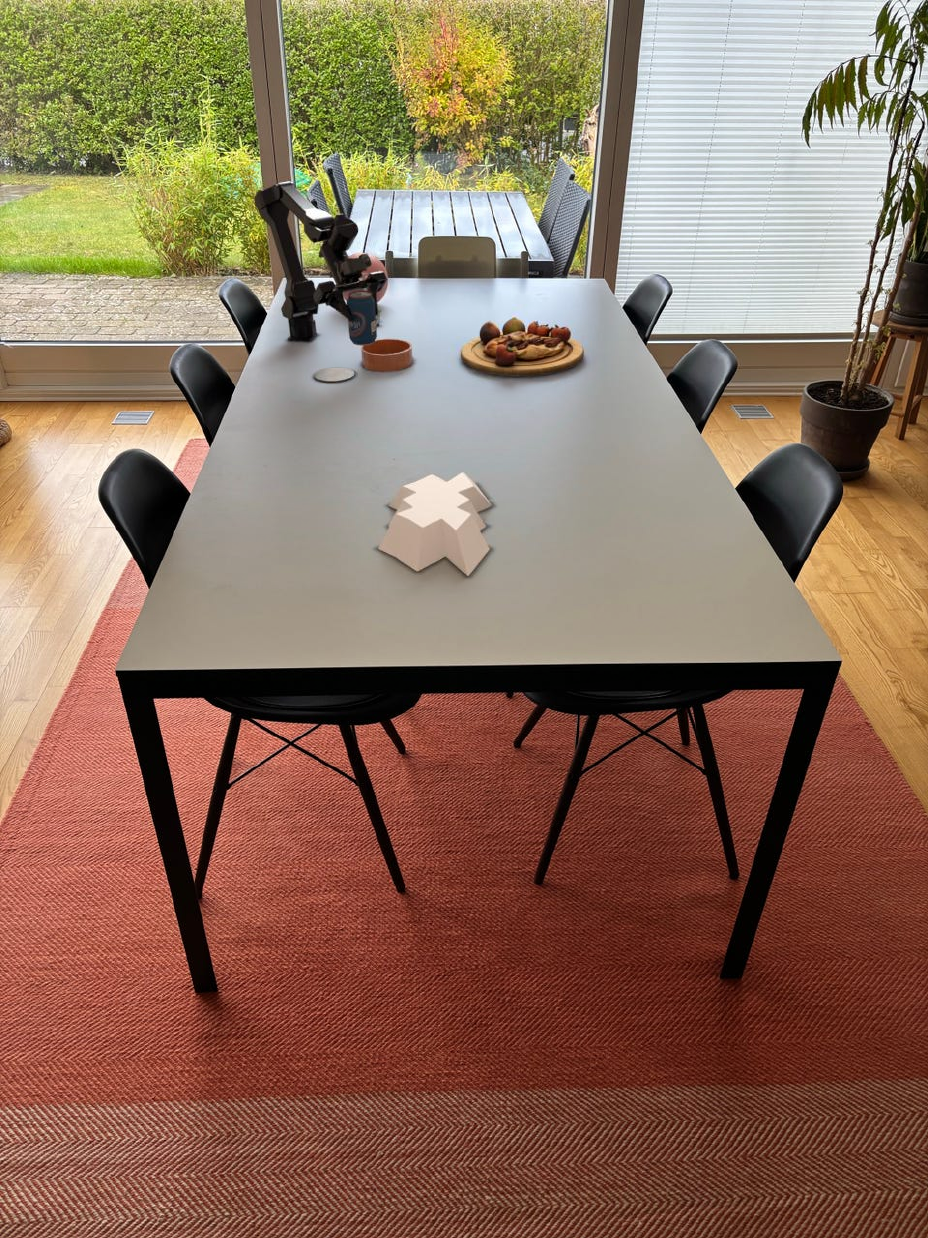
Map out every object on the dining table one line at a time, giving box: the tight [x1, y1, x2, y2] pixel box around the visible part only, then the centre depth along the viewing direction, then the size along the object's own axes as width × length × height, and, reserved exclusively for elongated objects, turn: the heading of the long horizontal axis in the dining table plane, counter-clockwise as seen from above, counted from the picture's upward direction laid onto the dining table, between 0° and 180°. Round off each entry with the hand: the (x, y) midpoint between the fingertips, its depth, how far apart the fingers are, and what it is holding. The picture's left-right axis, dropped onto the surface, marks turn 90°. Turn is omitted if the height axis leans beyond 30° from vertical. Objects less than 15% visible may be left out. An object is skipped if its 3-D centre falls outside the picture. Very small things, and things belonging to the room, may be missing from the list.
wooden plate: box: [460, 316, 585, 377], centre depth 254 cm, size 32×32×8 cm
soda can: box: [346, 291, 378, 347], centre depth 245 cm, size 7×7×12 cm
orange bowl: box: [360, 338, 413, 372], centre depth 254 cm, size 13×13×4 cm
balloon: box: [343, 252, 389, 303], centre depth 292 cm, size 15×20×15 cm
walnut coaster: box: [314, 367, 355, 384], centre depth 247 cm, size 10×10×1 cm
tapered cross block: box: [377, 471, 493, 577], centre depth 178 cm, size 35×20×6 cm, turn 177°
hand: (364, 317), depth 244 cm, fingers closed on soda can, 7 cm apart
